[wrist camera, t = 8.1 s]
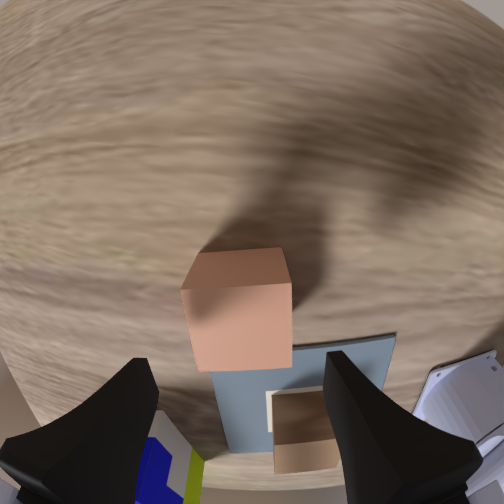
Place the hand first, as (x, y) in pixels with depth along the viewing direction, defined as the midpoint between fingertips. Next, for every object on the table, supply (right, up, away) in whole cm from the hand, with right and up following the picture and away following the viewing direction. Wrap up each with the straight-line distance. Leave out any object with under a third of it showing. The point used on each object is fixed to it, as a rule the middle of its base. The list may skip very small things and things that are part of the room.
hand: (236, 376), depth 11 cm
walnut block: (+5, -9, +11) cm, 15 cm away
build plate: (+5, -8, +11) cm, 15 cm away
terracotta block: (0, +3, +8) cm, 8 cm away
